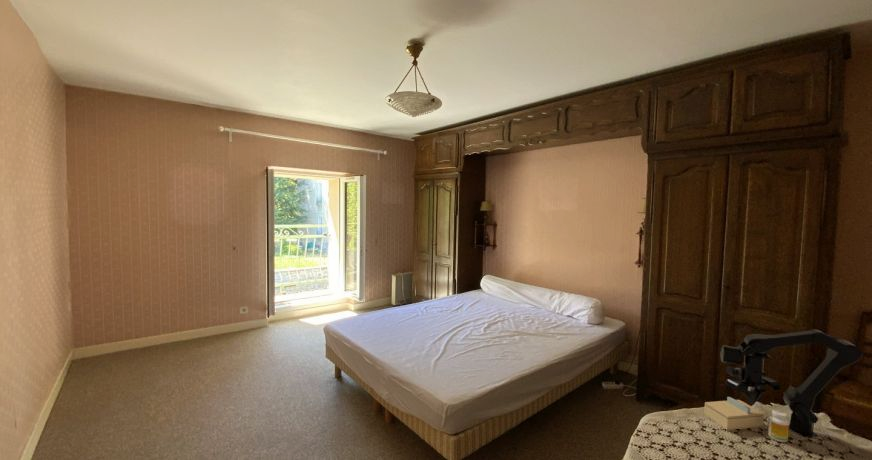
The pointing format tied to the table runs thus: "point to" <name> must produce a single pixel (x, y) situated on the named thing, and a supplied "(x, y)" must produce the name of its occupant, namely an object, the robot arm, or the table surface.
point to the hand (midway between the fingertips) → (750, 404)
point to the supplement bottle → (778, 426)
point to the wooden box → (733, 420)
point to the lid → (734, 408)
